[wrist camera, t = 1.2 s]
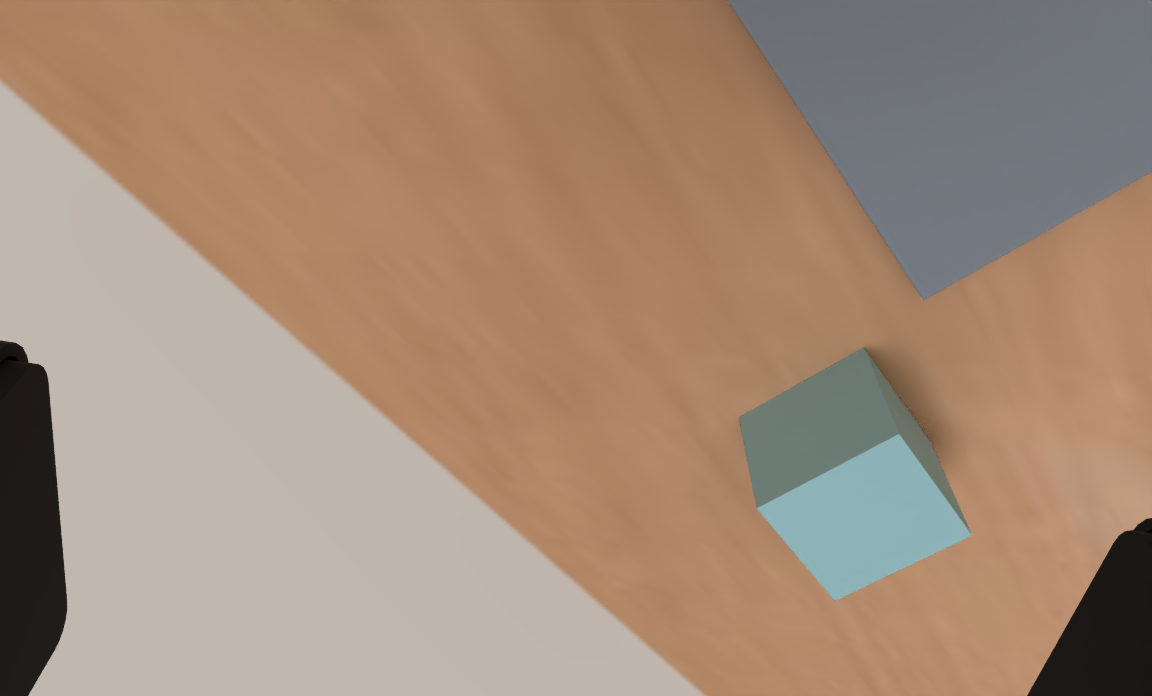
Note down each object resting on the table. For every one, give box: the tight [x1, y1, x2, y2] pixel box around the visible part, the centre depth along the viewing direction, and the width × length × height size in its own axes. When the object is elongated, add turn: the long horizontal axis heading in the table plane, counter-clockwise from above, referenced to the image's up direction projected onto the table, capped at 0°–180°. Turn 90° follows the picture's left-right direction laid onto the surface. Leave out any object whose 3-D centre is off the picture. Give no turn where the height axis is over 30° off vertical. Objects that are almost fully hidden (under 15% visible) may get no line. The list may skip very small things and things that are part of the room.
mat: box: [728, 0, 1152, 300], centre depth 36 cm, size 14×16×1 cm
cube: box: [739, 348, 972, 600], centre depth 43 cm, size 6×6×6 cm
